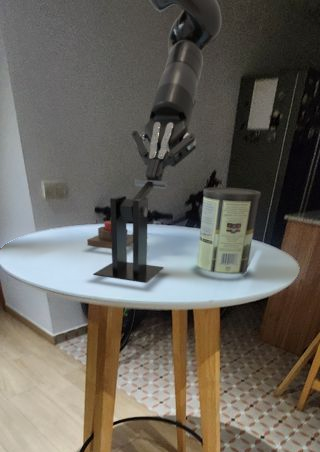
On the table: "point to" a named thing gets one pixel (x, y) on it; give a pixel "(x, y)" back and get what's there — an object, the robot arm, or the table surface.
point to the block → (106, 239)
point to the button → (107, 225)
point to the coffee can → (227, 229)
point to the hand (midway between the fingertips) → (152, 181)
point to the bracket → (119, 244)
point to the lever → (139, 196)
